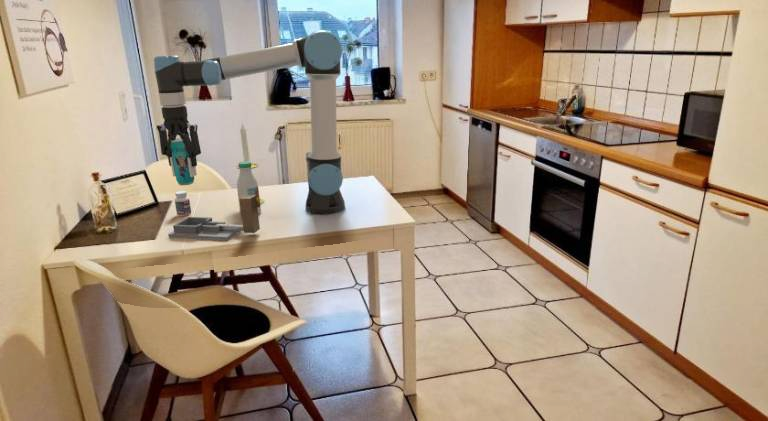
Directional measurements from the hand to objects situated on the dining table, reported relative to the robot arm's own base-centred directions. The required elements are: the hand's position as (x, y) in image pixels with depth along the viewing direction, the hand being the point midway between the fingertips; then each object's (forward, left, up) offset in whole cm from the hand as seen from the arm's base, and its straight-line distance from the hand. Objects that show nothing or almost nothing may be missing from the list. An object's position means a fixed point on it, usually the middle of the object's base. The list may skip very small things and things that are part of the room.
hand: (184, 175), depth 169 cm
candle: (-5, -34, -20) cm, 40 cm away
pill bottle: (+15, -17, -20) cm, 31 cm away
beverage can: (0, 0, -3) cm, 3 cm away
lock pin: (-17, 0, -19) cm, 25 cm away
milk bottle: (-11, -21, -20) cm, 31 cm away
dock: (-5, 0, -20) cm, 21 cm away
